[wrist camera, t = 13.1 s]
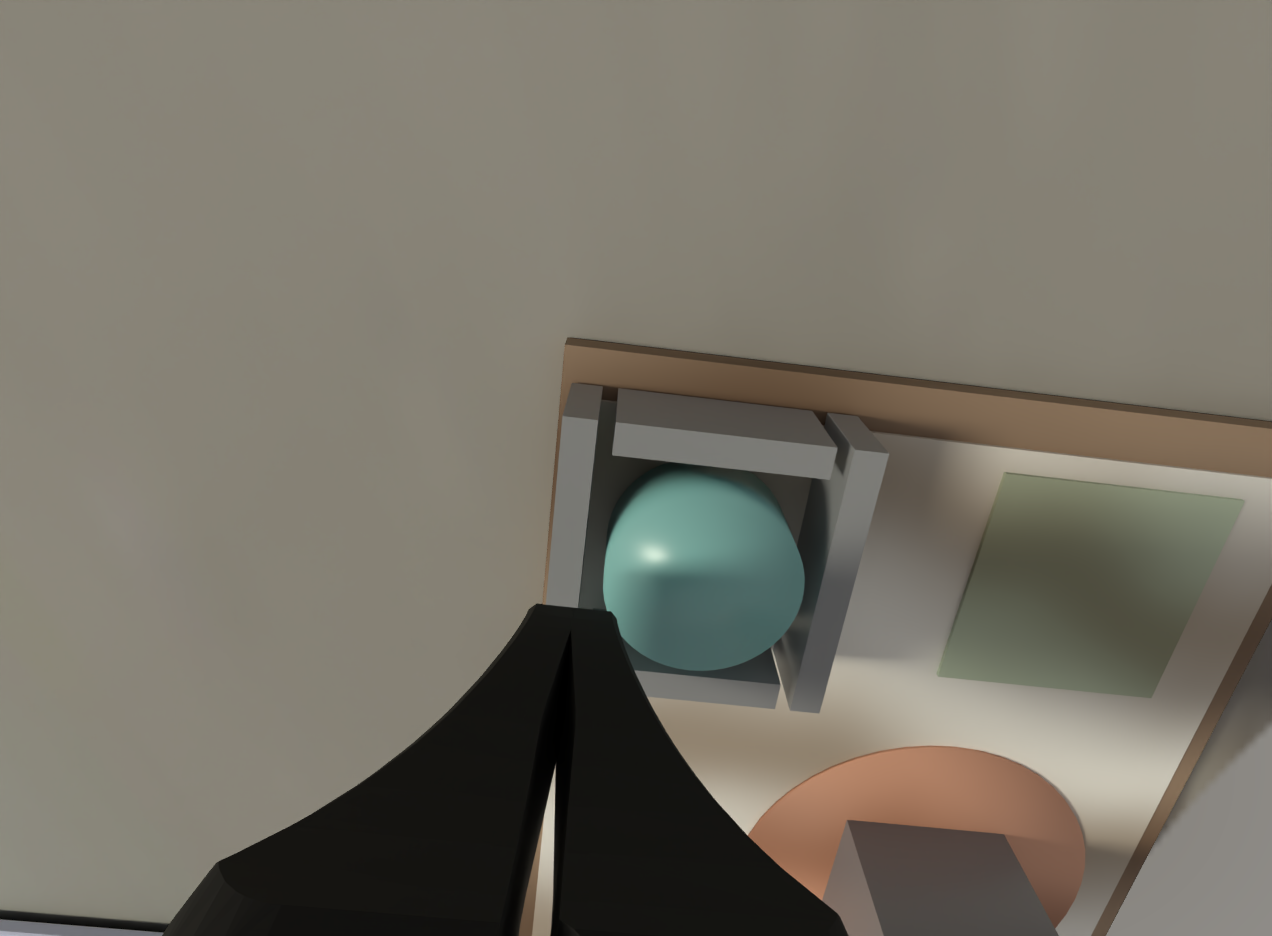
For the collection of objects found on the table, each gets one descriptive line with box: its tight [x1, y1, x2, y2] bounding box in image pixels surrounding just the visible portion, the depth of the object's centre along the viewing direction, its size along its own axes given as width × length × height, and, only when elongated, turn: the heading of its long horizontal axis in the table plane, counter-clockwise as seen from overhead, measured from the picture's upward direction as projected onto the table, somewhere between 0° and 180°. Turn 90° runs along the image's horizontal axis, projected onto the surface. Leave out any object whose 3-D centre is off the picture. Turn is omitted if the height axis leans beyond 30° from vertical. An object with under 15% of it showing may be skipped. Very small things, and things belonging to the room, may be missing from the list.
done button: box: [603, 462, 805, 671], centre depth 14 cm, size 4×4×2 cm
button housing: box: [546, 383, 889, 714], centre depth 15 cm, size 6×6×2 cm
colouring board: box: [519, 338, 1272, 936], centre depth 19 cm, size 20×16×1 cm
